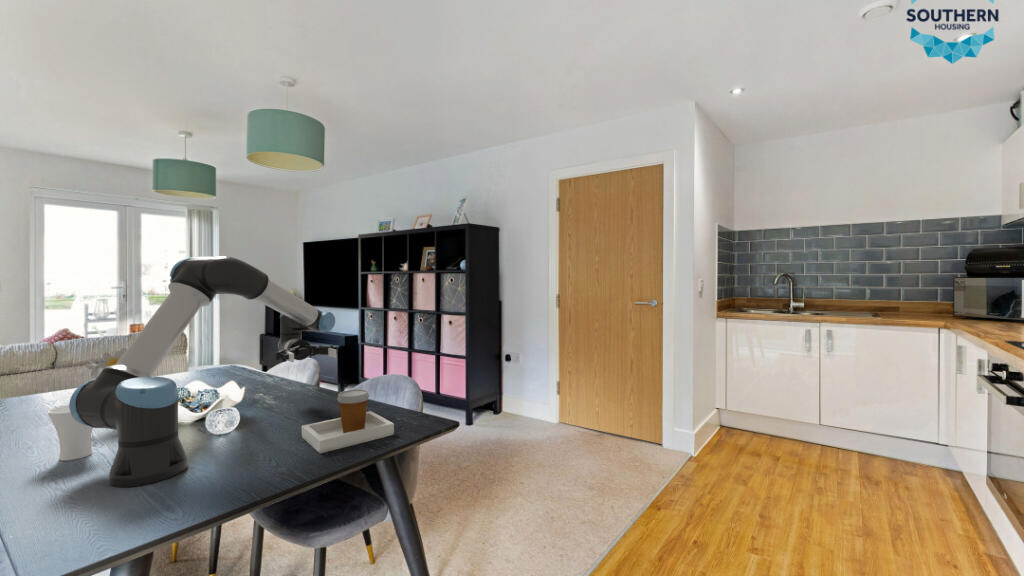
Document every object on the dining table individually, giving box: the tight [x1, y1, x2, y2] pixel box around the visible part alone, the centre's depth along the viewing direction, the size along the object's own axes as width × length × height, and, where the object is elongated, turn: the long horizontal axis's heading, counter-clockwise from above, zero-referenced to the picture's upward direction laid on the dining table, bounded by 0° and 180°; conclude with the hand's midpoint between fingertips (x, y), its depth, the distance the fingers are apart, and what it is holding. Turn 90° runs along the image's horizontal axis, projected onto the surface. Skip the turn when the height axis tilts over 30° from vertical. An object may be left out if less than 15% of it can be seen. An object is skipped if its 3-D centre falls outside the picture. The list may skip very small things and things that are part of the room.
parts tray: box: [301, 411, 395, 454], centre depth 136 cm, size 22×17×4 cm
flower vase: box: [85, 347, 128, 379], centre depth 153 cm, size 13×18×25 cm
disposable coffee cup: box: [336, 388, 370, 433], centre depth 138 cm, size 10×10×12 cm
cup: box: [46, 404, 94, 462], centre depth 122 cm, size 10×10×14 cm
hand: (314, 355), depth 149 cm, fingers open, 13 cm apart
